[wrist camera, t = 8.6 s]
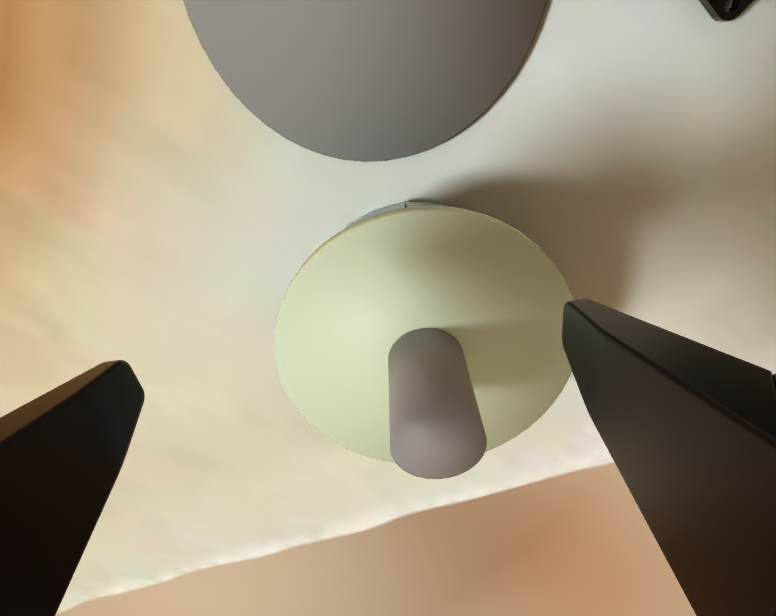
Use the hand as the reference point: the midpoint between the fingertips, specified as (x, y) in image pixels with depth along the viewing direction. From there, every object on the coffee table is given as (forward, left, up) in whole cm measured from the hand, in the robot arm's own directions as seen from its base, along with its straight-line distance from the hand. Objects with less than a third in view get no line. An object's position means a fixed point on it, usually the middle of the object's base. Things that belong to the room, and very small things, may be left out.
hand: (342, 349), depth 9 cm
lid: (+3, +5, -8) cm, 10 cm away
